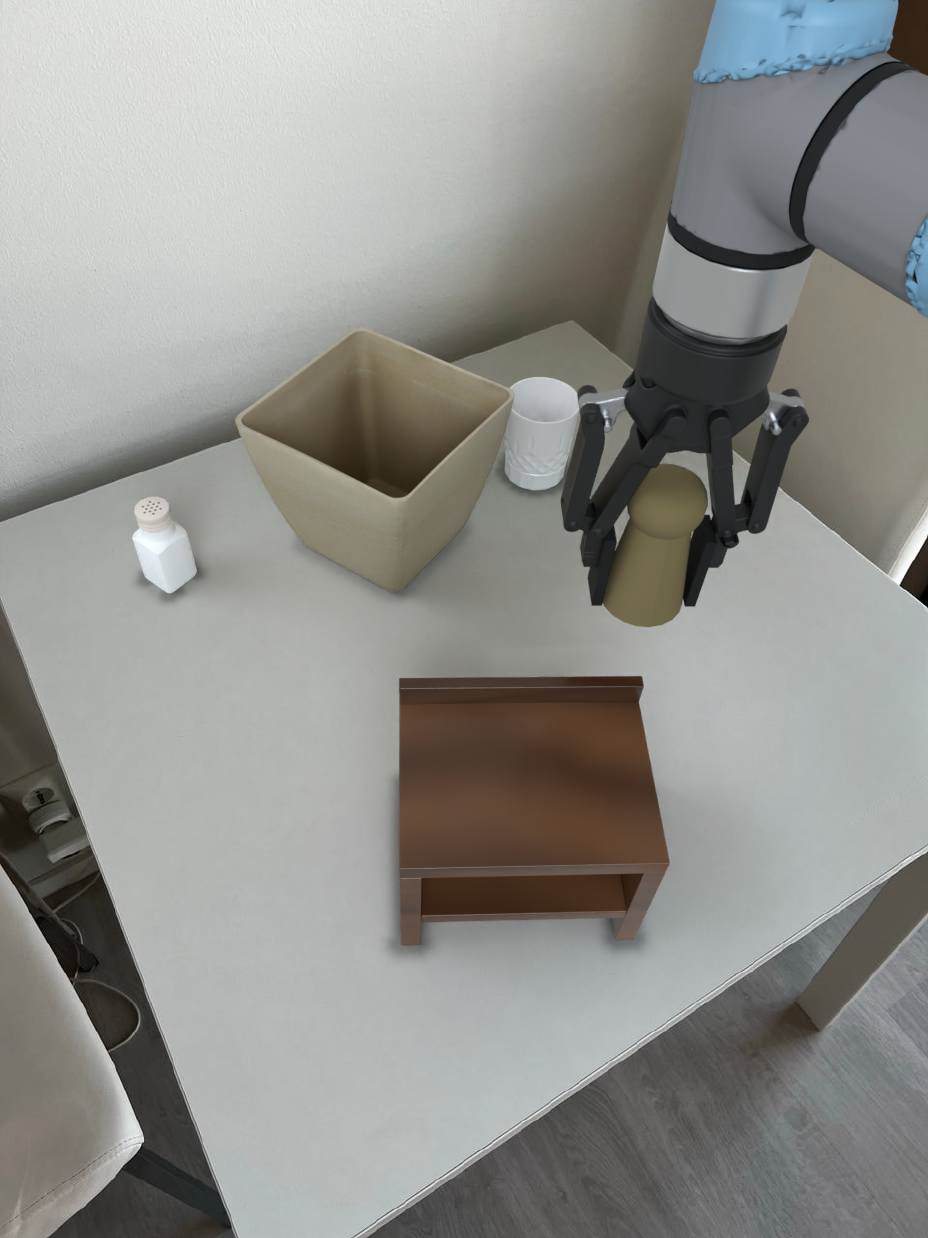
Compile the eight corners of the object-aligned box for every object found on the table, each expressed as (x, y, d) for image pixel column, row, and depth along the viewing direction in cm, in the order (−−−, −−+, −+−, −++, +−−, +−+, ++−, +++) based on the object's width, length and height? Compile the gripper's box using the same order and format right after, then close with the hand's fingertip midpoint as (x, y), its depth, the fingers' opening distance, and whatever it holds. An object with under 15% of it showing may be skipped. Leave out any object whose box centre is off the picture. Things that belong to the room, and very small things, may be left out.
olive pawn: (604, 557, 71) (630, 442, 62) (685, 573, 70) (722, 458, 62) (593, 617, 67) (619, 503, 59) (679, 634, 66) (717, 521, 58)
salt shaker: (170, 597, 93) (149, 529, 86) (142, 578, 95) (120, 509, 87) (200, 574, 95) (183, 505, 88) (173, 556, 97) (153, 486, 89)
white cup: (582, 471, 108) (595, 400, 100) (537, 505, 104) (547, 433, 96) (530, 439, 111) (539, 367, 103) (484, 470, 107) (490, 398, 99)
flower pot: (253, 548, 98) (228, 418, 85) (365, 451, 108) (358, 321, 95) (402, 632, 92) (400, 505, 79) (506, 520, 102) (519, 391, 89)
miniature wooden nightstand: (633, 940, 73) (676, 850, 61) (400, 946, 72) (398, 855, 60) (608, 781, 82) (642, 675, 70) (401, 784, 81) (399, 677, 69)
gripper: (872, 273, 54) (758, 555, 71) (538, 265, 53) (507, 552, 70) (915, 351, 49) (782, 633, 67) (549, 343, 48) (512, 631, 66)
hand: (640, 591), depth 68 cm, fingers closed on olive pawn, 6 cm apart
